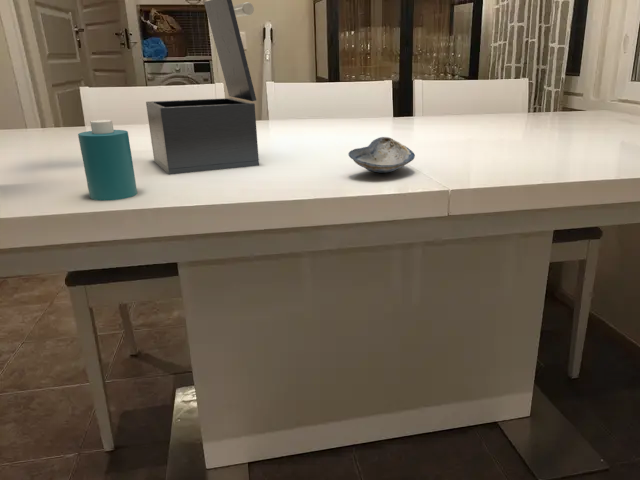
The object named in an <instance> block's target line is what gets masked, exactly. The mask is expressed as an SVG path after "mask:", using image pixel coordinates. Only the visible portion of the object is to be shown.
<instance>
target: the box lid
mask: <svg viewBox="0 0 640 480" xmlns="http://www.w3.org/2000/svg"><path fill="white" fill-rule="evenodd" d="M203 4H204V7H205V12H206V14H207V19H208V23H209V27H210V30H211V33H212V37H213V42H214V44H215V49H216V52H217V56H218V59H219V63H220V67H221V71H222V75H223V78H224V82H225V86H226V89H227V93H228V97H230V98H234V99H235V98H236V99H239V100H243V101H248V102H256V101H257V97H256V92H255V88H254V85H253V82H252V77H251V72H250V68H249V64H248V60H247V56H246V52H245V48H244V44H243V40H242V36H241V33H240V28H239V24H238V20H237V18H240V17H246V16H247V17H248V16H252V14H254V11H255V7H254V5H253V3H251V2H249V1H247V2H242V3H238V4H233V0H207V1H204V2H203Z"/></svg>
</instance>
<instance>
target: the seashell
mask: <svg viewBox="0 0 640 480" xmlns="http://www.w3.org/2000/svg"><path fill="white" fill-rule="evenodd" d="M348 157H349V158H350V159H351V160H352V161H353V162H354V163H355V164H356V165H358V166H360V167H361V168H364V169H365V170H367V171H369V172H373V173H378V174H385V173H390V172H394V171H397V170H399V169H401V168H402V167H404V166H406V165H408V164H410V163H411V162H412V161H414V159H415V157H416V155H415V152H414V151H412V150H411V148H409V147H407V146H406V145H404V144H402V143H401V142H399V141H397V140H395V139H393V138H391V137H388V136H381V137H377V138H374V140H372V141H370V143H369V144H368V145H367V146H363V147H358V148H354V149H351V150H350V151H349V152H348Z"/></svg>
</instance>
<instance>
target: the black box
mask: <svg viewBox="0 0 640 480" xmlns="http://www.w3.org/2000/svg"><path fill="white" fill-rule="evenodd" d="M145 106H146V113H147V120H148V121H147V122H148V127H149V135H150V141H151V148H152V155H153V162H154V163H155V164H156V165H157V166H159V167H160V168H161V169H162V170H163V171H165V173H166V174H168V175H170V176H171V175H180V174H189V173H190V174H191V173H199V172H209V171H210V172H211V171H219V170H220V171H221V170H229V169H239V168H240V169H241V168H250V167H259V166H260V157H259V147H258V145H259V143H258V131H257V118H256V105H255V103H253V102H251V101H246V100H242V99H238V98H236V99H235V98H233V97H229V98H228V97H226V98H224V97H223V98H204V99H203V98H201V99H200V98H199V99H179V100H177V99H176V100H154V101H153V100H152V101H145Z"/></svg>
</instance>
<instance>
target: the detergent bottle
mask: <svg viewBox="0 0 640 480" xmlns="http://www.w3.org/2000/svg"><path fill="white" fill-rule="evenodd" d="M89 124H90V129H91V130H88V131H82V132H79V133H77V137H78V141H79V142H78V143H79V146H80V147H79V148H80V152H81V158H82V164H83V168H84V173H85V178H86V179H85V180H86V184H87V189H88V195H89V199H91V200H94V201H105V202H108V201H119V200H126V199H130V198H133V197H135V196H137V195H138V188H137V183H136V176H135V170H134V169H135V168H134V163H133V157H132V149H131V144H130V136H129V131H127V130H125V129H114V123H113V120H112V119H96V120H90V121H89Z"/></svg>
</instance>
